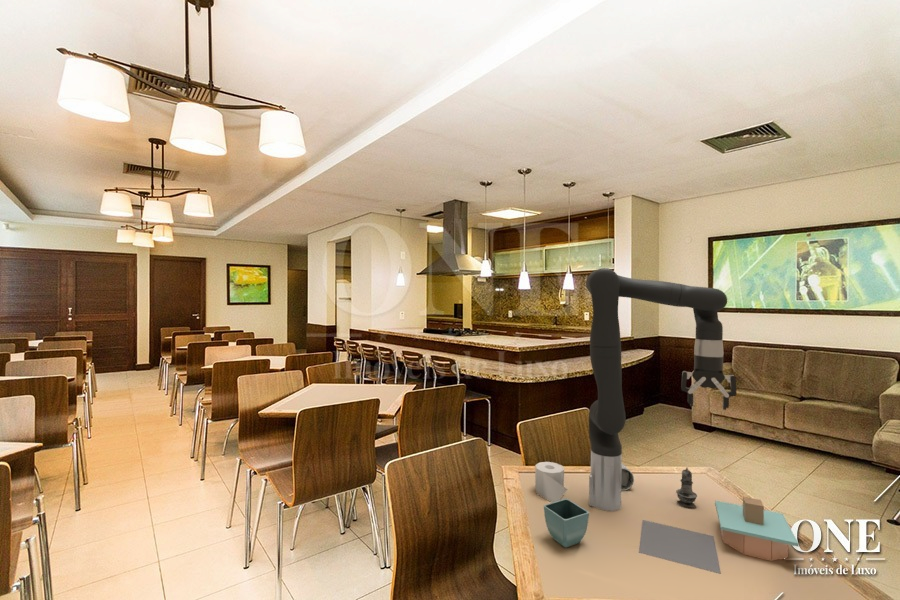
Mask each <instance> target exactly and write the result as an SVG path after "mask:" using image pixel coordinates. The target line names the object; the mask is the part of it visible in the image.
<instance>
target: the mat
mask: <svg viewBox="0 0 900 600" xmlns="http://www.w3.org/2000/svg"><path fill="white" fill-rule="evenodd" d="M639 539H640V540H639V545H638V546H639V548H638V553H639V554H643V555H646V556H650V557H655V558H657V559H662V560H667V561H671V562H674V563H677V564H681V565H685V566H687V567H688V566H689V567H693V568H696V569H700V570H703V571H704V570H705V571H707V572H708V571H709V572H712V573H716V574H719V575H720V574H722V571H721V567H720V560H719V556H718V551H717V544H716V541H715V536H714V535H711V534H706V533H702V532H697V531H693V530H689V529H684V528H680V527H676V526H673V525H666V524H662V523H660V522H659V523H658V522H654V521H650V520H645V519H642V520H641V529H640V538H639Z"/></svg>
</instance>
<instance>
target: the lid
mask: <svg viewBox="0 0 900 600" xmlns="http://www.w3.org/2000/svg"><path fill="white" fill-rule="evenodd" d="M714 506H715V509H716V514H717V517H718V518H717V519H718V523H719V526H720V531H721V530H725V531H730V532H734V533H739V534H743V535H748V536H752V537H757V538H761V539H766V540H770V541H775V542H779V543H784V544H788V546H789V545H790V546H794V547H799V545H800V544H799V542H798V540H797V538H796V536H795V534H794V533H793V530H792V528H791V526H790V525H789V522H788V521H787V519H786V517H785V515H784V513H781V512H776V511H772V510H766V509H764V508H765V506H764V504H763V502H762V500H761V499H758V498H752V497H746V496H742V505H741V504H737V503H732V502H731V503H729V502H725V501H720V500H714Z"/></svg>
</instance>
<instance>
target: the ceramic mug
mask: <svg viewBox="0 0 900 600" xmlns="http://www.w3.org/2000/svg"><path fill="white" fill-rule="evenodd" d="M634 482H635V477H634V474H633V472H632V471H631V470H630V469H629V468H628V467H627V466H625V464H624V463H622V472H621V492H622V491H628V490H630V489H631V488H632V487H633V485H634Z"/></svg>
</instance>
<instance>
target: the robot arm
mask: <svg viewBox="0 0 900 600" xmlns="http://www.w3.org/2000/svg"><path fill="white" fill-rule="evenodd" d="M585 282H586V283H585V285H586V289H587V291H588V292H589V293H590V295H591V303H592V312H593V313H592V321H591V327H590V334H589V335H590V336H589V350H590V351H589V357H590V363H591V369H592V372H593V376H594V380H595V382H596V386H597V387H596V388H597V399H596V400H595V401H593V403H592V404H591V405H590V407H589V411H588V412H589V413H588V436H589V437H588V438H589V441H590V473H589V476H588V477H589V478H588V479H589V481H588V483H589V484H588V506H589V507H592V508H596V509H598V510H600V511H604V512H605V511H606V512H617V511H618V510H619V511H620V509H621V508H622V490H621V472H622V464H623V462H622V458H623V457H622V456H623V445H622V443H621V440H620V437H619V433H620V432H622V430H623V429H624V427H625V425H626V418H627V417H626V410H625V405H624V404H625V403H624V396H623V387H622V386H623V385H622V384H623V382H622V381H623V378H622V376H623V375H622V373H623V372H622V341H621V331H620V330H621V328H620V321H619V320H620V319H619V298H627V299H635V300H640V301H644V302H645V301H646V302H649V303H655V304H660V305H666V306H672V307H677V308H690V309H693V310H692V311H693V316H694V321H695V341H694V348H693V349H694V350H693V352H694V353H693V354H694V355H693V357H694V358H693V359H694V361H693V362H694V363H693V364H694V365H693V371H692V372H691V371H686V370H683V371H682V372H681V373H682V374H681V384H680V385H681V386H680V389H681V391H682V392H685V393H687V404H689V406H690V407H693V406H694V392H695V391H696V390H697V389H698V388H699V387H701V388H703V389H704V388H705V389H706V388H708V389H712V390H713V389H714V390H715V389H718V390H719V391H720V393H721V394H722V410H724V411H726V410H727V409H729V407H730V403H729V402H730V398H731V397H736V396H737V383H736V382H737V378H736V376H735V375H734V374H729V375H728V374H724V354H725V353H724V342H723V340H724V339H723V335H724V333H723V332H724V331H723V328H724V326H723V323H722V322H721V321H720V320H719V314H718V312H720V311H722V310H723V309H725V307H726V306H727V304H728V297H727V295H726V294H725V292H724V291H722V290H720V289H719V288H713V287H704V286H694V285H693V286H692V285H687V284H682V283H676V282H671V281H670V282H669V281H662V280H652V279H651V280H650V279H638V278H631V277H625V276H622V275H618V274H617V273H616V272H615V271H614V270H612V269H611V268H608V267H607V268H606V267H604V268H602V267H601V268H598V269H595V270H593V271H592V272H591V273H589V275H588V276H587V278H586V281H585ZM691 377H692V378H693V379H694V381H693V383H692V384H691V385H690V387H687V382H688V380H689V379H690V378H691ZM725 380H727V381H726V382H727V383H729V389H730V390H729V391H727V390H726V389H725V388H724V386H723V385H722V383H723V381H725Z"/></svg>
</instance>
